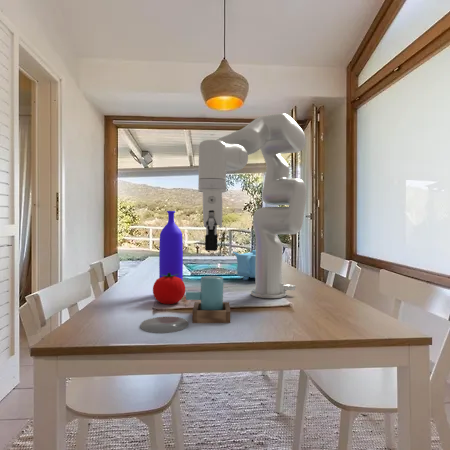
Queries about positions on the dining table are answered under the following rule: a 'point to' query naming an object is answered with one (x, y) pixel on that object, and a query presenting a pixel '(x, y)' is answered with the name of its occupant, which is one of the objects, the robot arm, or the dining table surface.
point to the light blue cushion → (246, 265)
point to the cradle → (211, 314)
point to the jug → (209, 293)
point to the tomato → (169, 289)
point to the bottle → (171, 249)
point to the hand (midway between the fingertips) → (211, 248)
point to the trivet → (164, 324)
